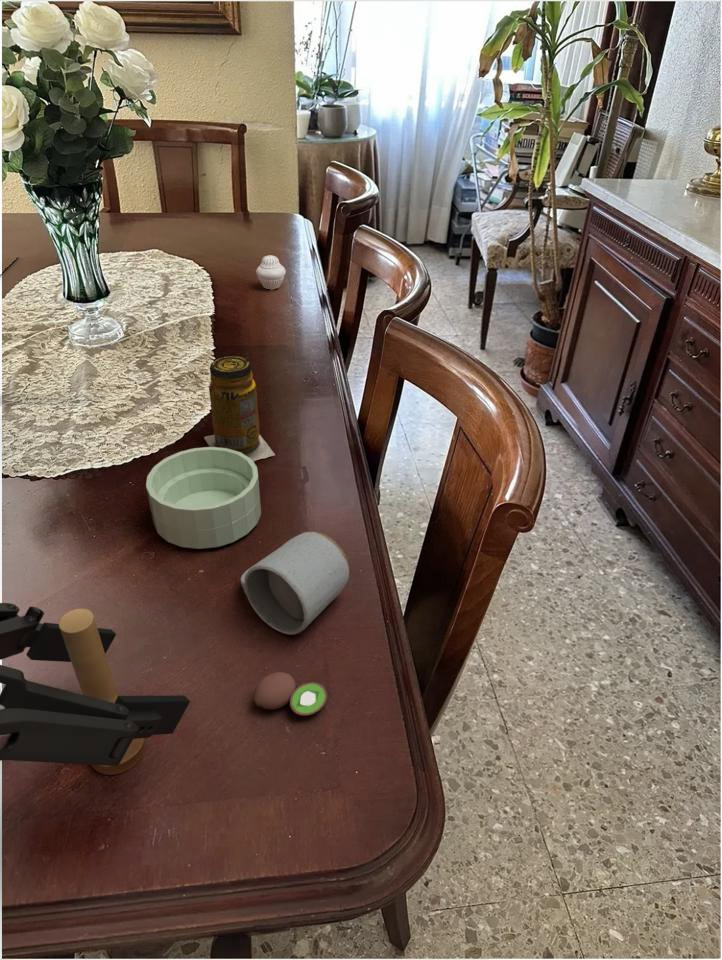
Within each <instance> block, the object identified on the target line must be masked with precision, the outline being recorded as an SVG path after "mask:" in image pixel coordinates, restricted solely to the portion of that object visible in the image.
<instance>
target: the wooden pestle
mask: <svg viewBox="0 0 722 960" xmlns="http://www.w3.org/2000/svg"><path fill="white" fill-rule="evenodd" d="M58 624H59V628H60V631H61V634H62V637H63V639H64V642H65V645H66V648H67V651H68V654H69V657H70V659H71V662H70V663H71V665H72V667H73V670H74V673H75V676H76V680H77V681H78V685H79V687H80V690H81V693H82V695H85V696H89V697H93V698H97V699H100V700H104V701H108V702H112V703H115V701H116V699H117V697H118V696H119V695H118V692H117V689H116V685H115V682H114V679H113V676H112V672H111V669H110V665H109V662H108V659H107V656H106V654H105V652H104V649H103V645H102V642H101V639H100V636H99V632H98V629H97V628H98V627H97V623H96V620H95V615H94V613H93V612H92V610H89V609H87V608H75V609H72V610H70V611H68V612H66V613H64V615H62V616H61V618H60V619H59V620H58ZM147 740H148V739H147V738H140V739H139V738H138V739H133V740H132V742H131V744H130V746H129V748H128V749H127V751H126V753H125V755H124V757H123V758H122V760H121V762H120V764H119V765H118V766H105V765H91V767H92V768H93V770H95V771H96V772H98V773H100V774H101V775H108V776H113V775H120V774H123V773H125V772H128V771H129V770H130V769H132V768H134V767H135V766H136V765H138V763H139V762H140V761H141V760H142V758H143V757H144V755H145V752H146V750H147V747H148V746H147V745H148V741H147Z"/></svg>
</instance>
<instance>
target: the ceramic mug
mask: <svg viewBox="0 0 722 960" xmlns="http://www.w3.org/2000/svg"><path fill="white" fill-rule="evenodd" d="M350 571H351V570H350V564H349V560H348V558H347V556H346V554H345V552H344V551H343V549H342V547H341V546H340V545H339V544H338V543H337V542H336V541H335V540H334V539H332V538H331V537H330V536H328V535H326V534H324V533H321V532H320V531H315V530H312V531H305V532H302V533H300V534H298V535H296V536H294V537H292V538H291V539H289V540H287V541H286V542H285V543H284V544H282V545H281V546H280V547H278V548H277V549H276V550H274V551H273V552H271V553H269V554H268V555H267V556H265V557H264V558H262V559H261V560H259V561H258V562H257V563H255V564H254V565H252V566H250V567H249V568H248V569H247V570H245V571H244V572H243V574H242V575H241V576H240V584H241V587H242V589H243V592H244V594H245V595H246V596H247V600H248V602H249V603H250V606H251V607H252V609H253V610H254V611H255V613H256V614H257V615H258V617H259V618H260V619H261V620H262V621H263V622H264V623H265V624H267V625H268V626H269V627H270V628H272V629H273V630H275V631H277V632H279V633H281V634H284V635H289V636H291V635H298V634H300V633H302V632H303V631H305V630H306V629H307V627H309V625H310V624H311V623H312V622H313V621H314V620H315V619H316V618H317V617H318V616H319V615H320V614H321V613H322V612H323V611H324V610H325V609H326V608H327V607H328V606H329V605H330V604H331V603H332V602H333V601H334V600H336V598H337V597H338V596H339V595H340V594H341V593H342V591H343V590H344V588H346V585H347V583H348V581H349V578H350V575H351V574H350Z"/></svg>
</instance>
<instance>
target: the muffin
mask: <svg viewBox="0 0 722 960" xmlns="http://www.w3.org/2000/svg"><path fill="white" fill-rule="evenodd" d="M286 271H287V270H286V268H285V267H284V266H283V264H281V262H280V260H279V258H278V257H277V256H275V255H271V254H269V255H265V256H263V257H262V259H261V263H260V265H259V266H257V268H256V270H255V273H256V276H257V278H258V280H259V282H260V283H261V285H262V287H263V288H266V289H275V288H279V287H280V288H281V285H282V284H283V282H284V279H285V275H286V273H287V272H286ZM280 288H279V289H280ZM266 289H265V290H266Z"/></svg>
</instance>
